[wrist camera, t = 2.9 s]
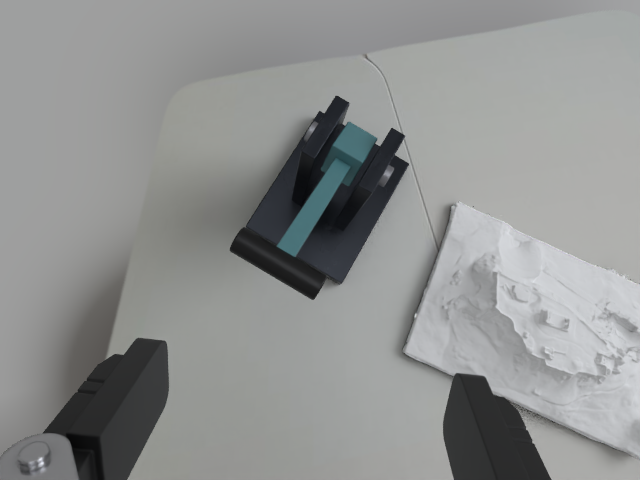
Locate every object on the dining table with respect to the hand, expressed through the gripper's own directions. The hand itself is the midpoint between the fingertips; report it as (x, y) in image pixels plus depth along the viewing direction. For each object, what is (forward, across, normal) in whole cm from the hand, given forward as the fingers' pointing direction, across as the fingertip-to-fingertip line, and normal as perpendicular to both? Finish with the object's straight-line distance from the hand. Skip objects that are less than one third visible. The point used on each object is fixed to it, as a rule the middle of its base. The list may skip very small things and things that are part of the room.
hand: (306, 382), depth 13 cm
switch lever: (+16, +1, 0) cm, 16 cm away
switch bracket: (+28, 0, +3) cm, 28 cm away
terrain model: (+25, -19, +12) cm, 34 cm away
